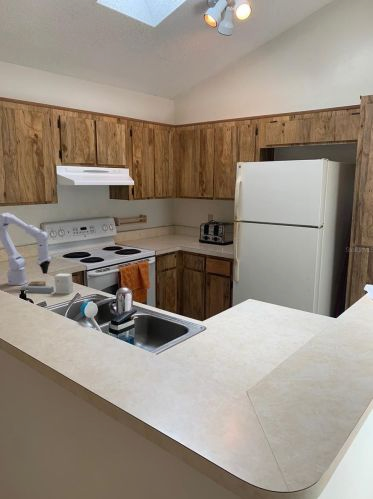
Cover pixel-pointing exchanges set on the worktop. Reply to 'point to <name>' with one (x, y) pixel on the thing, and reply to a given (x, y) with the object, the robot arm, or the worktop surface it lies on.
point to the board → (38, 289)
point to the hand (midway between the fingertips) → (45, 273)
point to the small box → (63, 283)
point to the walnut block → (37, 283)
